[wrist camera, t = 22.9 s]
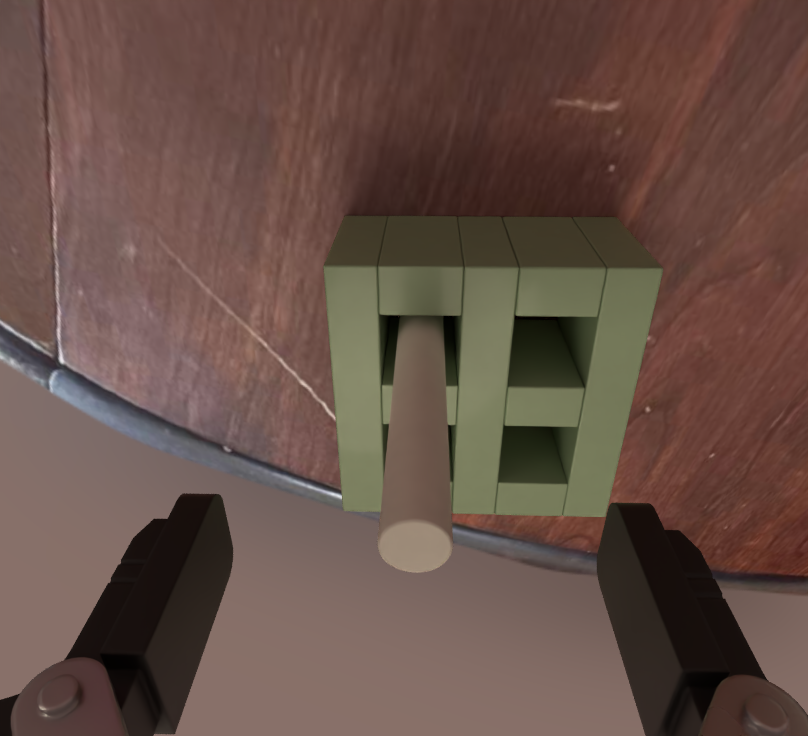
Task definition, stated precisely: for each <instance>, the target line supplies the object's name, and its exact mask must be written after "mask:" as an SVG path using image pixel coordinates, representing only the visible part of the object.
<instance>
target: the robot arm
mask: <svg viewBox="0 0 808 736" xmlns="http://www.w3.org/2000/svg"><path fill="white" fill-rule="evenodd" d="M232 562H233V545H232V540H231V535H230V531H229V526H228V522H227V517H226V513H225V508H224V504H223V500H222V497H221V496H220V495H219V494H182V495H180V497H179V498H178V500H177V501H176V503H175V506H174V508H173V509H172V511H171V513H170V515H169V517H168V519H153V520H152V521H151V522H150V523H149V524H148V525H147V526H146V527H145V528H144V529H142V530H141V531H140V532H139V533H138V534H137V535H136V536H135V537H134V538H133V540H132V541H131V543H130V545H129V547H128V549H127V550H126V552H125V554H124V556H123V558H122V559H121V564H120V565H118V566H117V568H116V570H115V572H114V574H113V575H112V577H111V582H110V583H108V585H107V586H106V588H105V590H104V592H103V593H102V595H101V597H100V599H99V600H98V602H97V604H96V606H95V608H94V610H93V611H92V613H91V615H90V617H89V618H88V620H87V622H86V624H85V626H84V627H83V629H82V631H81V633H80V635H79V636H78V638H77V640H76V642H75V644H74V645H73V647H72V649H71V651H70V652H69V654H68V655H67V657H66V658H65V660H64V661H61V662H59V663H56V664H54V665H52V666H50V667H49V668H47V669H45V670H44V671H43V672H41V673H40V674H38V675H37V676H36V677H35V678H34V679H32V680H31V681H30V682H29V684H28V685H27V686H26V687H25V688H24V689H23V691H22V692H21V693H20V694H18V695H15V696H12V697H9V698H5V699H2V700H0V736H153V735H154V734H175V732H176V729H177V726H178V723H179V720H180V717H181V715H182V712H183V709H184V706H185V703H186V700H187V697H188V695H189V692H190V689H191V686H192V683H193V680H194V677H195V674H196V672H197V669H198V666H199V663H200V660H201V657H202V654H203V652H204V649H205V646H206V643H207V640H208V637H209V634H210V631H211V628H212V625H213V623H214V620H215V617H216V614H217V611H218V608H219V606H220V603H221V600H222V597H223V594H224V591H225V588H226V585H227V582H228V580H229V577H230V573H231V568H232ZM597 573H598V580H599V584H600V588H601V591H602V594H603V598H604V601H605V605H606V608H607V611H608V614H609V618H610V621H611V624H612V627H613V631H614V634H615V637H616V640H617V644H618V647H619V650H620V654H621V657H622V660H623V663H624V667H625V670H626V673H627V676H628V679H629V683H630V686H631V689H632V693H633V696H634V699H635V703H636V706H637V709H638V712H639V715H640V719H641V722H642V725H643V729H644V732H645V735H646V736H808V715H807V714H806V712H805V711H804V709H803V708H802V707H801V706H800V705H799V704H798V702H797V701H796V700H795V699H793V698H792V697H791V696H790V695H789V694H788V693H787V692H785V691H784V690H782V689H781V688H779V687H778V686H776V685H775V684H773V683H771V682H769V681H768V680H767V679H766V677H765V675H764V674H763V672H762V670H761V668H760V666H759V664H758V662H757V661H756V658H755V657H754V654H753V652H752V651H751V649H750V647H749V645H748V643H747V641H746V639H745V637H744V635H743V633H742V631H741V629H740V627H739V625H738V623H737V621H736V619H735V617H734V616H733V614H732V612H731V610H730V608H729V606H728V604H727V602H726V600H725V599H723V597H722V592H721V590H720V588H719V586H718V584H717V582H716V581H715V579H713V578H712V573H711V571H710V569H709V567H708V565H707V563H706V561H705V559H704V557H703V555H702V553H701V551H700V550H699V549H698V548H697V547H696V546H695V545H694V544H693V543H692V542H691V541H690V540H689V539H688V538H687V537H686V536H685V535H683V534H682V533H681V532H680V531H679V530H664V528H663V526H662V523H661V521H660V519H659V517H658V515H657V513H656V511H655V509H654V507H653V506H652V505H651V504H649V503H611V504H610V506H609V509H608V512H607V517H606V521H605V525H604V529H603V533H602V538H601V542H600V546H599V550H598V555H597Z"/></svg>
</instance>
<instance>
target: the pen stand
mask: <svg viewBox="0 0 808 736" xmlns="http://www.w3.org/2000/svg"><path fill="white" fill-rule="evenodd" d="M323 268H324V281H325V293H326V306H327V318H328V330H329V343H330V355H331V367H332V380H333V392H334V405H335V417H336V429H337V442H338V454H339V467H340V479H341V491H342V504H343V510H344V511H367V512H381V502H382V492H383V481H384V471H385V461H386V451H387V441H388V431H389V421H390V410H391V400H392V390H393V380H394V370H395V360H396V349H397V339H398V329H399V319H400V318H390V315H427V316H453V319H452V318H443V329H444V351H445V374H446V397H447V420H448V442H449V465H450V488H451V511H452V512H453V513H457V514H494V513H495V514H496V515H535V516H562V515H563V516H585V517H605V516H606V512H607V508H608V504H609V499H610V495H611V491H612V486H613V482H614V478H615V474H616V469H617V465H618V461H619V457H620V452H621V448H622V444H623V440H624V435H625V431H626V427H627V422H628V418H629V414H630V410H631V405H632V401H633V397H634V393H635V388H636V384H637V380H638V376H639V371H640V367H641V363H642V358H643V354H644V350H645V346H646V341H647V337H648V333H649V329H650V324H651V320H652V316H653V311H654V307H655V303H656V299H657V294H658V290H659V286H660V282H661V277H662V273H663V268H662V266H661V265H660V264H659V263H658V262H657V261H656V260H655V259H654V258H653V257H652V256H651V254H650V253H649V252H648V251H647V250H646V249H645V248H644V247H643V246H642V245H641V243H640V242H639V241H638V240H637V239H636V238H635V237H634V236H633V235H632V234H631V233H630V231H629V230H628V229H627V228H626V227H625V226H624V225H623V224H622V223H621V222H620V221H619V219H618V218H617V217H573V218H571V217H503V218H501V217H500V216H459V217H458V218H457V216H388V217H387V216H344V219H343V221H342V223H341V226H340V228H339V231H338V233H337V235H336V238H335V240H334V243H333V245H332V247H331V250H330V252H329V254H328V257H327V259H326V262H325V264H324V267H323ZM515 315H516V316H557V317H558V320H517V319H514V317H515Z"/></svg>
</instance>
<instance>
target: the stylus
mask: <svg viewBox="0 0 808 736" xmlns="http://www.w3.org/2000/svg"><path fill="white" fill-rule="evenodd" d="M377 544H378V549H379V553H380V554H381V556H382V558H383V559H384V560H385V561H386V562H387V563H388V564H389V565H391V566H393V567H394V568H397V569H399V570H402V571H406V572H415V573H416V572H426V571H430V570H434V569H436V568H438V567H440V566H441V565H443V564H444V563H445V562H446V561H447V560H448V558H449V557H450V555H451V553H452V550H453V533H452V511H451V488H450V465H449V442H448V420H447V397H446V374H445V351H444V329H443V316H427V315H400V319H399V329H398V339H397V349H396V360H395V370H394V380H393V390H392V400H391V410H390V421H389V431H388V441H387V451H386V461H385V471H384V481H383V492H382V502H381V512H380V522H379V532H378V543H377Z"/></svg>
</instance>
